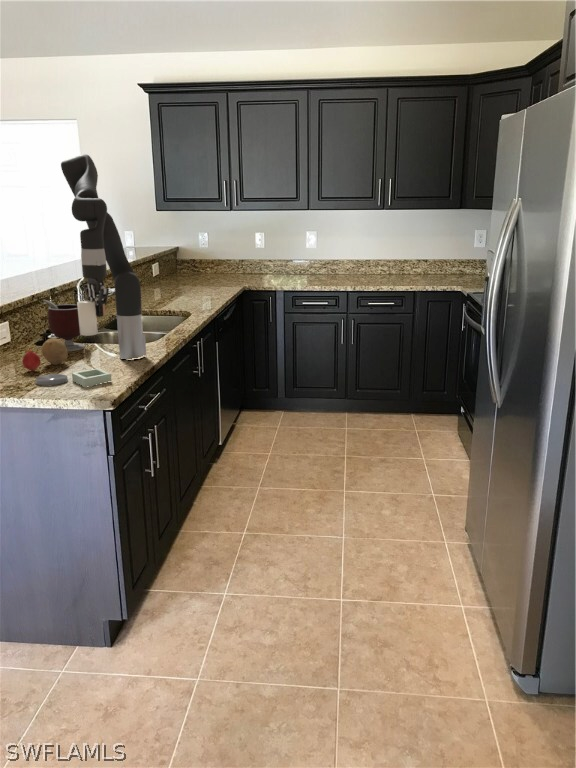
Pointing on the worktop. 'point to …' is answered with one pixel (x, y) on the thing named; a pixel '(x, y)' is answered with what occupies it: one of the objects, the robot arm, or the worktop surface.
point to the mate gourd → (65, 324)
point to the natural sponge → (54, 351)
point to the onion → (31, 360)
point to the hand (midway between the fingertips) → (98, 315)
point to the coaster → (51, 379)
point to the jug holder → (91, 377)
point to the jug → (88, 317)
